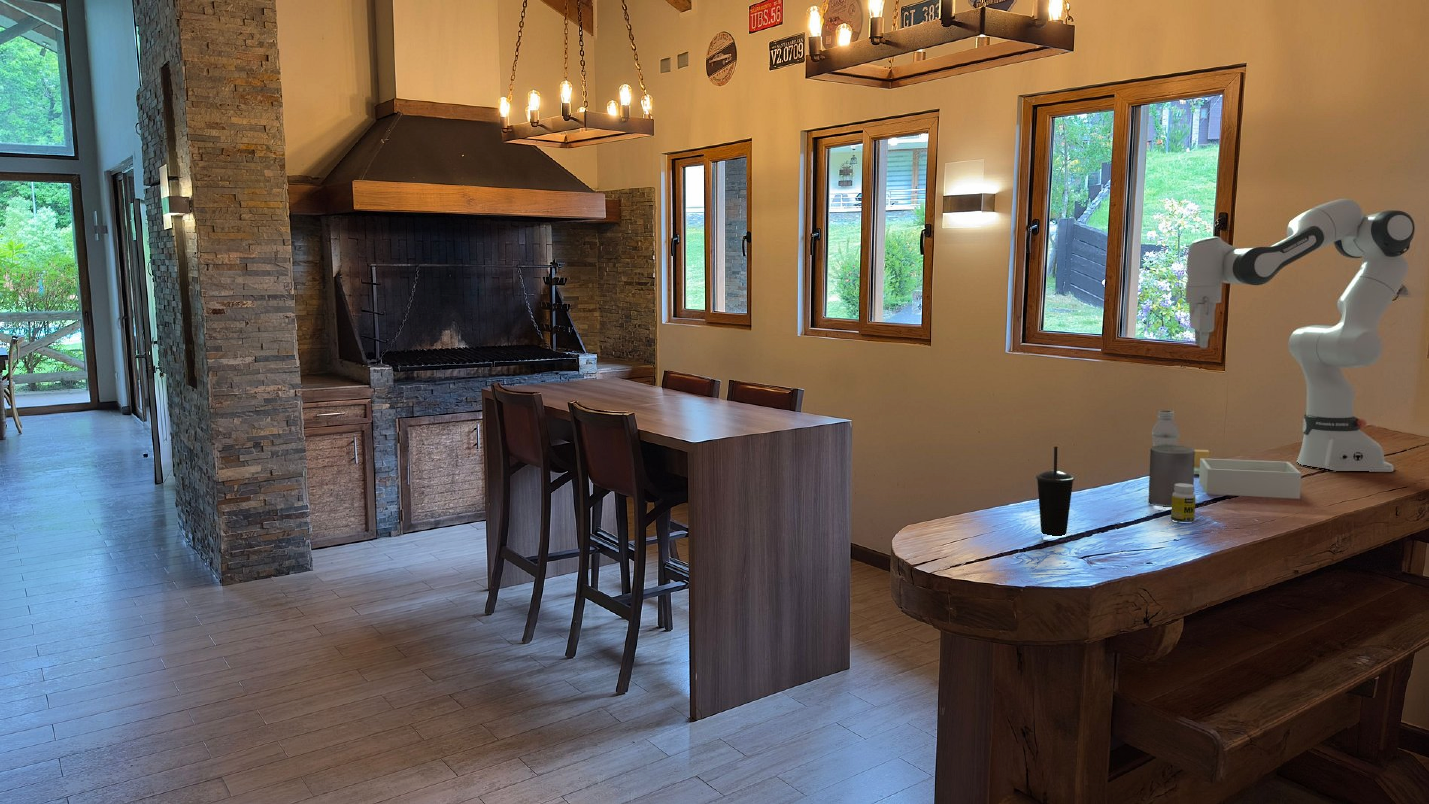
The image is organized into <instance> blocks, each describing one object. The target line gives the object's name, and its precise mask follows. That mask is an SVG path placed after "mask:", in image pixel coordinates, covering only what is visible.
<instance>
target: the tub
mask: <svg viewBox="0 0 1429 804" xmlns="http://www.w3.org/2000/svg"><path fill="white" fill-rule="evenodd" d="M1198 475H1199V476H1198V477H1199V480H1198V483H1199V484H1200V485H1201V487H1202V489H1203V490H1204V493H1205V494H1206V495H1215V496H1217V495H1219V496H1234V497H1235V496H1236V497H1238V496H1239V497H1259V498H1275V499H1276V498H1277V499H1296V500H1297V499H1298V500H1300V499H1301V490H1302V489H1301V487H1302V485H1301V484H1302V472H1301V471H1299V469H1297V468H1296V467H1295V466H1294V465H1293V464H1292V463H1291V462H1289V461H1277V460H1276V461H1275V460H1272V461H1271V460H1250V459H1249V460H1248V459H1226V458H1209V459H1203V458H1200V474H1198Z"/></svg>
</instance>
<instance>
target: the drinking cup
mask: <svg viewBox="0 0 1429 804" xmlns="http://www.w3.org/2000/svg"><path fill="white" fill-rule="evenodd" d="M1035 479H1036V480H1037V490H1038V492H1037V493H1038V507H1039V508H1038V509H1039V522H1040V533H1041V532H1042V533H1043V534H1047V535H1052V536H1062V535H1065V534H1066V535H1067V531H1068V524H1069V515H1070V507H1071V500H1072V493H1073V492H1072V491H1073V484H1074V481H1075V476H1074V475H1072V474H1069V473H1068V472H1065V471H1063V470H1058V446H1054V447H1053V470H1052V469H1051V470H1046V471H1042V472H1040V473H1038V474H1036V475H1035Z"/></svg>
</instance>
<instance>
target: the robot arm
mask: <svg viewBox="0 0 1429 804" xmlns="http://www.w3.org/2000/svg"><path fill="white" fill-rule="evenodd" d="M1415 225H1416V224H1415V221H1414V219H1413V217H1412V216H1411V215H1410V214H1409V213H1408V212H1406V211H1401V210H1391V209H1390V210H1385V211H1382V212H1377V213H1373V214H1372V213H1371V214H1368V215H1367V214H1365V213H1364V212H1363V210H1362V208H1361V206H1360V205H1359V203H1358V202H1356V201H1355V200H1354V199H1350V198H1340V199H1335V200H1331V201H1328V202H1325V203H1323V204H1319V205H1317V206H1314V207H1313V208H1310V209H1309V210H1306V211H1304V212H1302V213H1300V214H1299V215H1296V217H1294V218H1292V220H1290V221H1289V223H1288V225H1287V229H1286V236H1287V237H1286V238H1284V239H1282V240H1281V241H1278V242H1276V243H1274V244H1272V245H1271V246H1256V247H1245V248H1244V247H1242V248H1238V247H1237V246H1233V245H1230V244H1229V243H1227V242H1226V241H1224V240H1223V239H1222V238H1221V237H1220V236H1208V237H1202V238H1198V239H1194V241H1192V242H1191V243H1190V245H1189V248H1188V252H1187V257H1186V258H1187V259H1186V273H1187V280H1186V284H1185V301H1184V302H1185V304H1188V309H1189V311H1188V312H1189V324H1190V327H1191V328H1192V329H1194V338H1195V342H1194V345H1196V346H1199V348H1201V349H1207V348H1208V344H1209V343H1208V342H1209V338H1210V333H1213V332H1214V330H1215V317H1216V315H1215V314H1216V313H1215V312H1216V311H1215V310H1216V308H1217V304H1219V303H1222V289H1223V286H1222V285H1223V283H1225V284H1232V285H1233V284H1235V285H1249V286H1261V285H1264V284H1265V285H1266V284H1267V283H1268V282H1271V280H1272V279H1273V278H1274V277H1275V276H1276V275H1277V274H1278V273H1279V272H1280V271H1281V270H1282V269H1283V268H1285V267H1286V266H1288V265H1290V264H1291V263H1293V262H1295V261H1297V260H1300V259H1301V258H1303V257H1305V256H1306V255H1309V254H1310V253H1313V252H1314V251H1315V252H1316V251H1319V250H1320V249H1322V248H1326V247H1327V246H1329V245H1332V244H1333V245H1334V246H1335V249H1336V251H1338V253H1339V254H1340V255H1341V256H1343V257H1345V258H1348V259H1349V258H1351V259H1361V258H1362V261H1361V265H1360V268H1359V270H1358V271H1357V272H1356V273H1355V275H1354V276H1353V278H1352V279H1351V280H1350V282H1349V284H1347V287H1346V288H1345V289H1344V291H1343V293H1342V294H1341V295H1340V297H1339V298H1338V300H1337V304H1336V306H1337V309H1338V311H1339V313H1340V314H1341V318H1340V320H1339V322H1338V323H1337V324H1335V325H1322V324H1321V325H1320V324H1314V325H1307V326H1302V327H1299V328H1296V330H1295V329H1294V331H1293V332H1292V333H1291V335H1290V336H1289V340H1288V344H1287V345H1288V346H1287V347H1288V351H1289V354H1290V355H1291V357H1292V358H1294V359H1295V361H1296V362H1297V363H1298V365H1299V366H1300V368H1301V371H1302V373H1303V376H1304V380H1305V384H1306V406H1305V407H1306V408H1305V409H1306V410H1305V412H1306V413H1304V415H1303V419H1302V421H1303V423H1302V432H1303V433H1302V434H1303V439H1302V444H1301V447H1300V451H1299V455H1298V457H1297V460H1296V462H1298V463H1299V464H1298V463H1297V464H1298V465H1300V464H1301V465H1300V466H1303V465H1307V466H1317V467H1322V468H1327V469H1330V470H1337V471H1369V473H1372V472H1373V473H1375V472H1376V473H1390V472H1391V473H1392V472H1394V469H1395V468H1394V465H1393V464H1392V463H1389V462H1387V461H1385V455H1384V450H1383V447H1382V445H1380V443H1378V442H1377V441H1375V439H1373V438H1372V437H1370V436H1369V435H1367V434H1366V433H1365V432H1364V431H1363V430H1360V429H1361V428H1366V426H1367V425H1368V422H1367V421H1366V420H1365V419H1363V418H1361V419H1360V418H1358V417H1356V416H1354V407H1355V405H1354V404H1355V387H1354V386H1353V384H1351V382H1349V381H1348V380H1347V379H1346V377H1345V375H1344V374H1343V371H1342V368H1350V369H1351V368H1352V369H1354V368H1363V367H1370V366H1372V365H1375V363H1376V362H1377V361H1379V359H1380V357H1381V355H1382V353H1383V349H1384V347H1383V346H1384V345H1383V344H1384V343H1383V340H1382V339H1381V336H1380V335H1379V334H1378V328H1379V323H1380V321H1381V318H1382V317H1383V315H1384V314H1385V312H1386V310H1387V309H1388V307H1389V306H1390V304H1391V303H1392V301H1393V300H1394V298H1395V296H1397V294H1398V293H1399V290H1400V288H1401V287H1402V285H1403V282H1405V278H1406V277H1407V274H1408V271H1409V263H1408V261H1407V259H1406V258H1405V257H1404V256H1402V255H1403V254H1405V253H1407V251H1409V250H1410V247H1411V246H1410V245H1411V242H1412V240H1413V238H1414V235H1415V232H1416V231H1415V230H1416V228H1415V227H1416V226H1415ZM1307 466H1306V467H1307Z"/></svg>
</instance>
